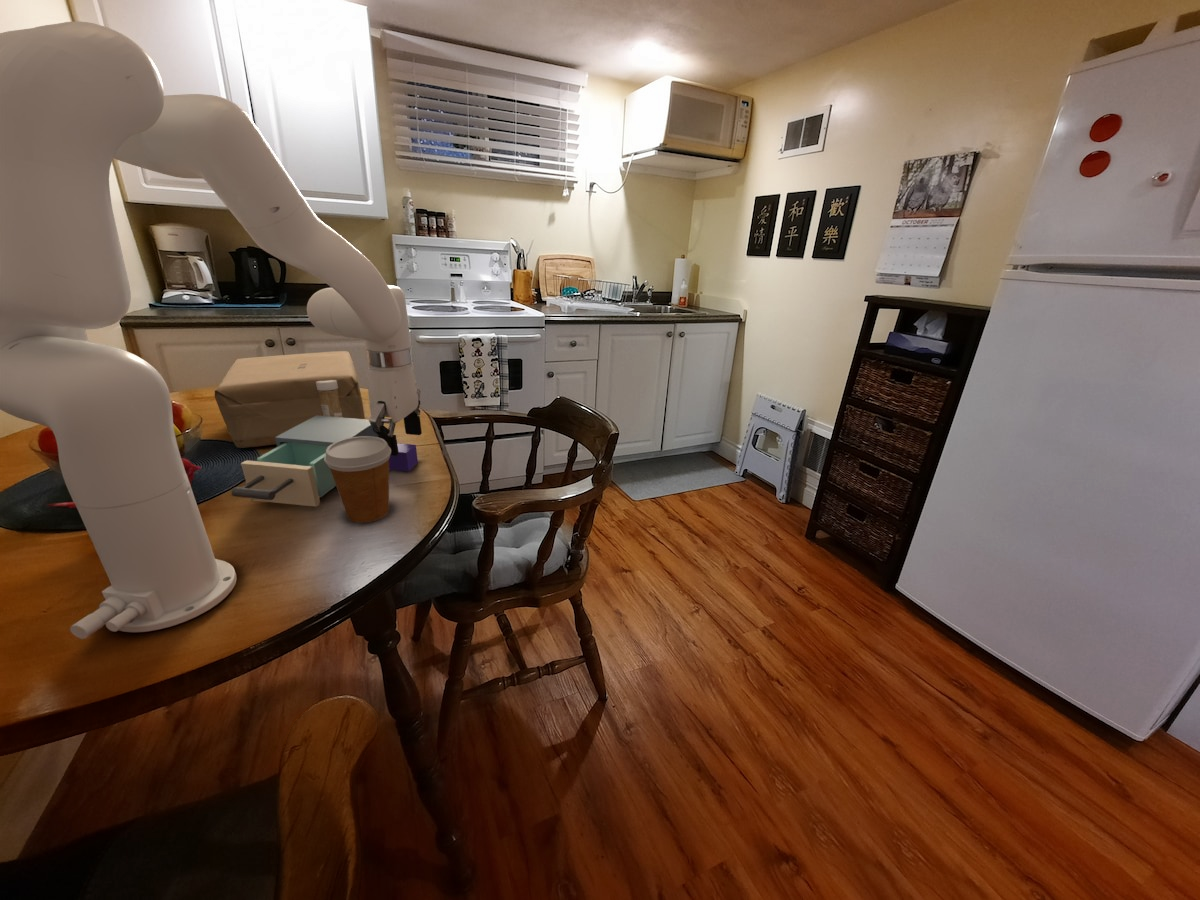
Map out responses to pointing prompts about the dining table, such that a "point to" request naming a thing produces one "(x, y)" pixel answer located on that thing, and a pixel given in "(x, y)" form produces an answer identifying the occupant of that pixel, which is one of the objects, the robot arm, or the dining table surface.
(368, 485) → the disposable coffee cup
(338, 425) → the drawer cabinet
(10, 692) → the dining table surface
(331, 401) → the sprinkles bottle
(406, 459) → the cube
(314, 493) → the drawer
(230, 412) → the paper package
